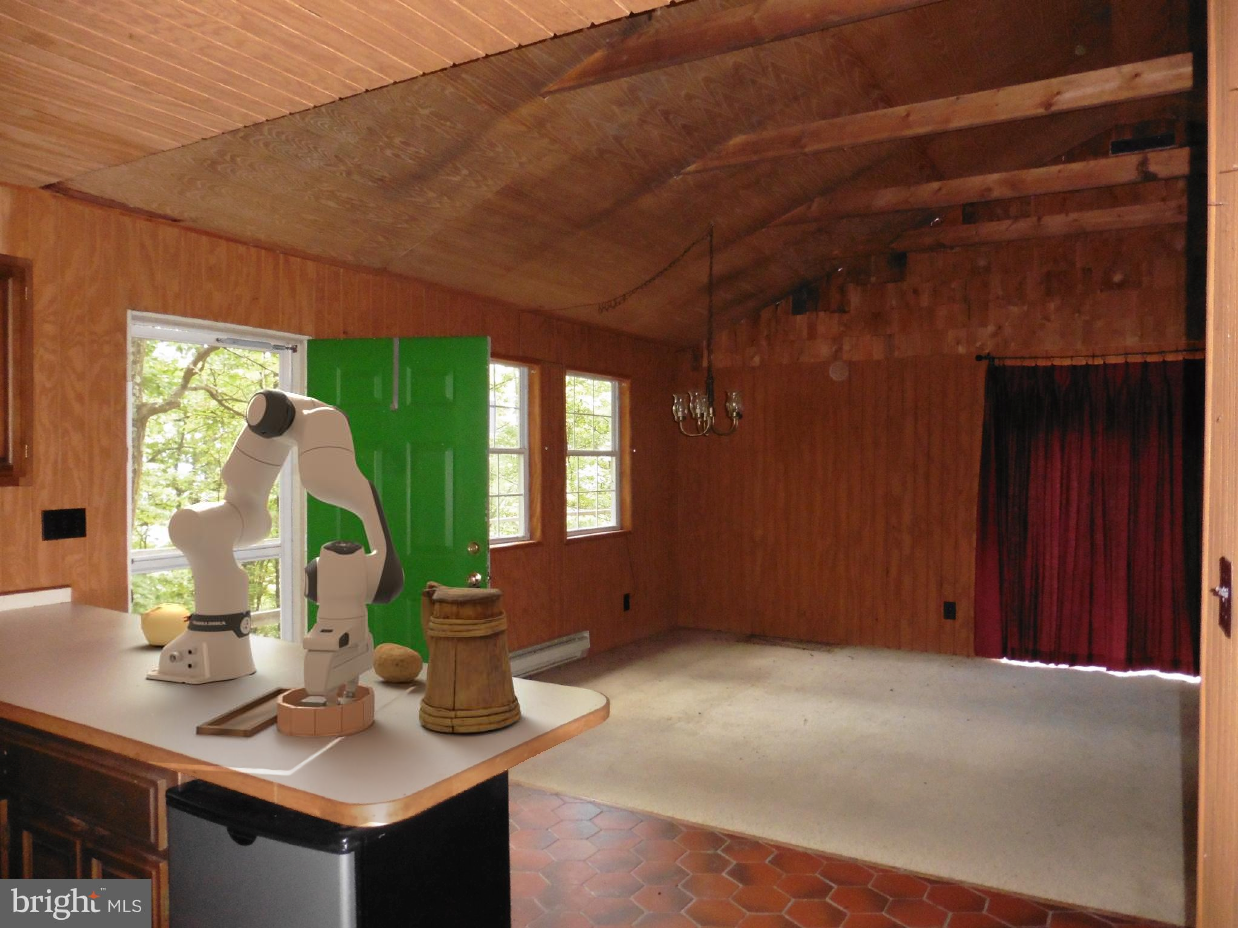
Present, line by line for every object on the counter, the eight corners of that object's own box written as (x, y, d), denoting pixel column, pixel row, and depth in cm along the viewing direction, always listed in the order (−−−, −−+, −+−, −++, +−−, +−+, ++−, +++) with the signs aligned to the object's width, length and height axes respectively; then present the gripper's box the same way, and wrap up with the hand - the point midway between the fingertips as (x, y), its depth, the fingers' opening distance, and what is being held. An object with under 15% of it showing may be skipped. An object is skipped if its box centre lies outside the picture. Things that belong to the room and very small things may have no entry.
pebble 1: (300, 721, 150) (300, 701, 150) (310, 715, 154) (310, 695, 154) (322, 722, 150) (322, 702, 150) (332, 716, 153) (332, 696, 153)
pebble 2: (325, 722, 149) (325, 702, 149) (335, 716, 153) (335, 697, 153) (348, 723, 149) (348, 703, 149) (357, 717, 152) (357, 698, 152)
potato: (395, 692, 173) (395, 654, 173) (361, 680, 182) (361, 644, 182) (435, 683, 180) (435, 647, 180) (400, 672, 189) (400, 637, 189)
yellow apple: (179, 637, 224) (179, 598, 224) (201, 643, 217) (202, 602, 217) (134, 645, 215) (134, 603, 215) (156, 651, 208) (156, 608, 208)
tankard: (472, 743, 142) (473, 598, 142) (381, 718, 155) (382, 586, 155) (539, 717, 157) (540, 586, 157) (451, 696, 170) (452, 575, 170)
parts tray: (196, 737, 144) (196, 726, 144) (278, 695, 170) (278, 686, 170) (249, 740, 143) (249, 729, 143) (323, 697, 168) (323, 688, 168)
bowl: (258, 737, 144) (258, 705, 144) (307, 709, 161) (307, 680, 161) (347, 742, 142) (348, 710, 142) (388, 713, 158) (388, 684, 158)
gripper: (352, 619, 162) (351, 689, 162) (297, 641, 141) (296, 722, 141) (382, 620, 161) (382, 691, 161) (331, 643, 140) (331, 724, 141)
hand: (341, 705), depth 151 cm, fingers open, 5 cm apart
